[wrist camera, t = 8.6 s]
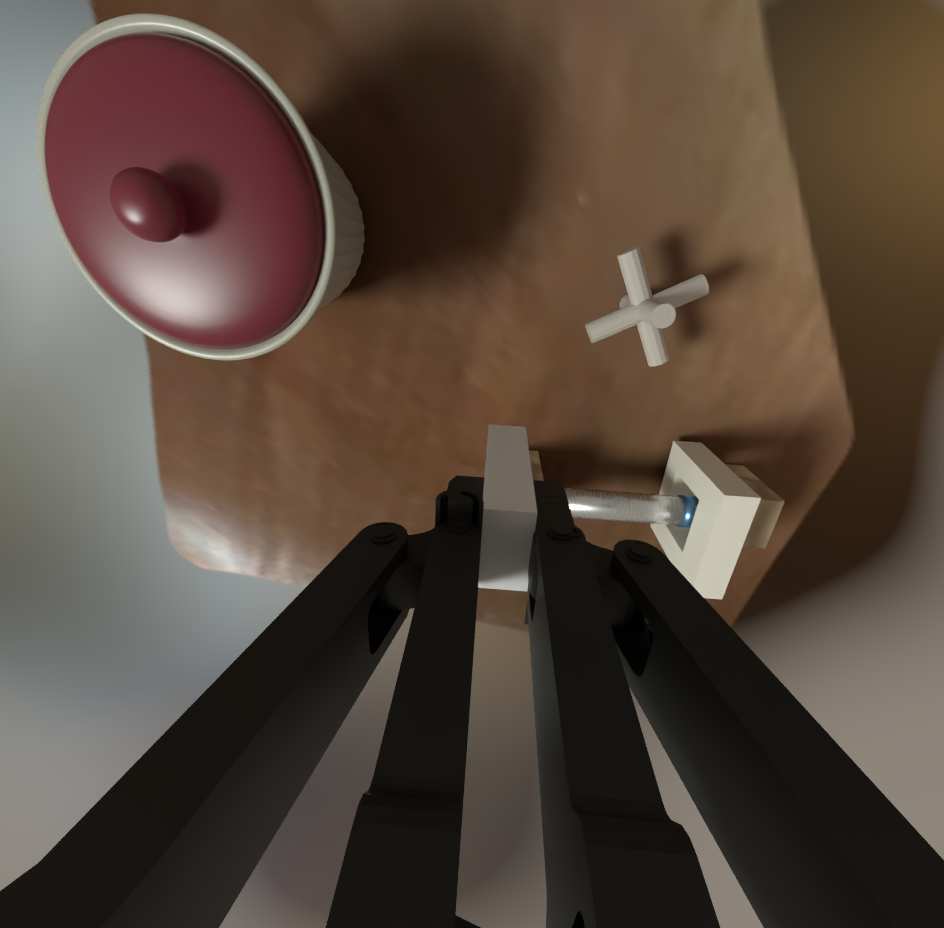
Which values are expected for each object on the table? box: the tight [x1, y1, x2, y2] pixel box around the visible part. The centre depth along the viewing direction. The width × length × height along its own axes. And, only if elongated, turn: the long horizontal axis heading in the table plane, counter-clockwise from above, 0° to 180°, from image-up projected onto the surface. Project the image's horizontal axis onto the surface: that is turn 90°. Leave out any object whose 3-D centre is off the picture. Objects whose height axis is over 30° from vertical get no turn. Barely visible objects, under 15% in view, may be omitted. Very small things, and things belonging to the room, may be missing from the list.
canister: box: [37, 14, 365, 360], centre depth 32 cm, size 18×18×21 cm
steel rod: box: [564, 488, 699, 528], centre depth 45 cm, size 25×3×3 cm, turn 87°
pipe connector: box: [586, 246, 709, 367], centre depth 38 cm, size 10×10×10 cm
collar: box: [651, 441, 761, 599], centre depth 44 cm, size 3×11×12 cm, turn 177°
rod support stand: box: [529, 450, 785, 548], centre depth 47 cm, size 26×6×8 cm, turn 87°
